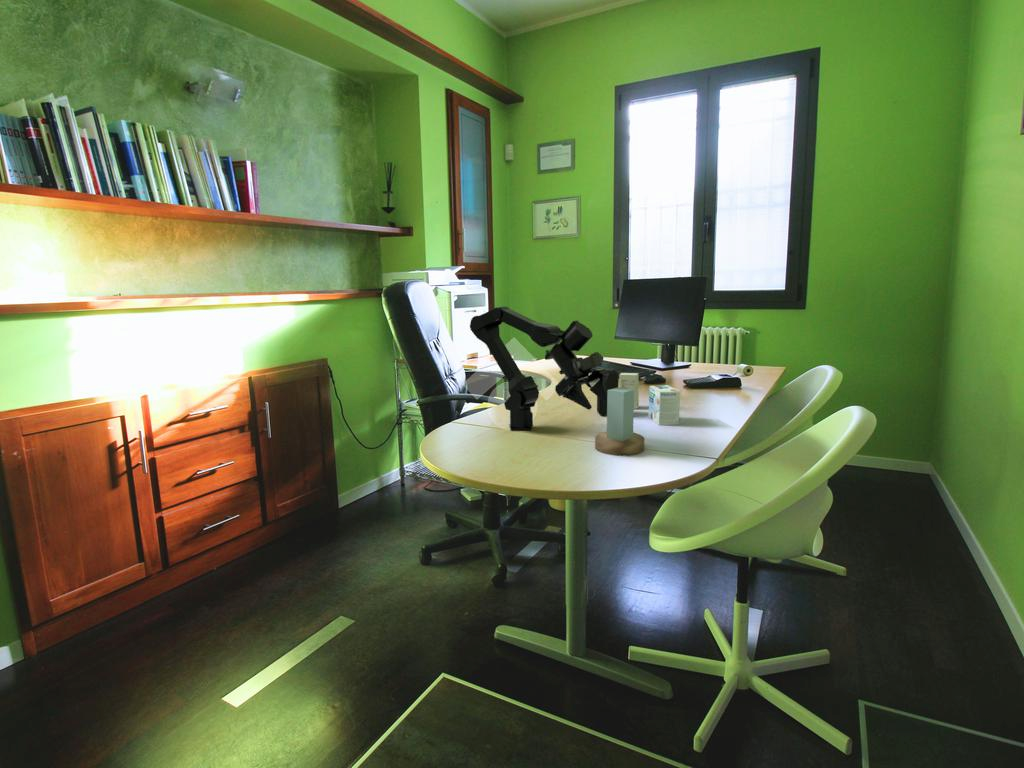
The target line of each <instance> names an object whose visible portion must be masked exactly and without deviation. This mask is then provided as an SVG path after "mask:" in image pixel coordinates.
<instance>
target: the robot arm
mask: <svg viewBox="0 0 1024 768" xmlns="http://www.w3.org/2000/svg"><path fill="white" fill-rule="evenodd" d="M502 324H506V325H508V326H510V327H513V328H514V329H516V330H518V331H520V332H522V333H524V334H525V335H527V336H529V338H530V339H531V341H533V342H534V343H535V344H536V345H537V346H539V347H542V348H545V347H551V346H552V347H551V349H546V350H545V356H544V360H545V361H547V360H553V361H554V362H555V364H556V365H557V366H558V367H559V369H560V370H559V371H558V373H559V375H561V376H562V375H564V377H562V379H560V381H559V382H557V384H556V385H554V386H555V387H554V390H555V393H556V394H557V396H558V397H563V399H567V400H570V401H572V402H574V403H576V404H578V405H579V406H581V407H582V408H585V409H586V410H588V411H589V410H590V411H591V409H592V408H593V407H592V405H591V403H590V401H589V399H588V398H587V396H586V394H585V393H584V391H583V390H582V388H583V387H582V385H586V386H587V387H588V388H589V391H591V393H593V394H594V395H596V397H597V396H598V397H599V398H600V399H601V400H603V401H604V402H605V403H607V394H608V392H607V389H606V385H605V382H606V379H607V376H608V375H609V373H608V372H607V371H608V370H606V369H605V368H598V367H602V366H603V365H604V364H603V362H604V356H603V355H602V354H601V353H600V352H599V351H596V352H593V353H591V354H590V355H589V356H585V357H584V358H583V357H577V355H576V354H575V353H574V352H579V351H581V349H582V348H584V346H585V345H586V344H587V343H588V342H590V340H591V339H592V338H593V336H594V335H593V332H592V331H591V329H590V328H589V327H587V326H586V325H585V324H583V323H581V322H580V321H579V320H573V321H571V323H570V324H569V326H568V327H567V328H566V330H562V329H561V328H560V327H559V326H557V325H555V324H550V323H545V322H539V321H536V320H534V319H532V318H529V317H528V316H525V315H523V314H521V313H519V312H517V311H515V310H513V309H511V308H509V307H508V306H505V305H504V306H496V307H494V308H493V309H491V310H489V311H486V312H484V313H482V314H480V315H474V316H473V317H472V318H471V319H470V323H469V329H470V331H471V332H472V334H473V335H474V337H476V339H478V340H479V341H481V342H482V343H484V344H485V346H487V348H488V350H489V352H490V354H491V355H492V357H493V359H494V361H495V362H496V364H497V366H498V367H499V368H500V371H501V372H502V374H503V376H504V377H505V379H506V380H507V384H508V387H507V390H508V394H509V397H508V398H507V399H506V400H505V401H504V403H503V404H504V408H505V410H506V411H509V424H508V425H509V430H510V431H525V430H526V431H529V430H530V431H531V429H533V428H532V427H533V426H534V417H533V416H534V414H533V412H532V408H534V407H535V406H536V403H537V401H538V400H539V399H538V398H539V397H540V396H539V394H540V390H539V388H538V387H539V385H537V383H536V382H535V380H534V378H533V376H531V375H528V376H526V375H524V374H523V373H522V372H521V370H520V368H519V367H518V364H517V363H516V362H515V360H514V358H513V356H512V355H511V353H510V352H509V350H508V348H507V346H506V345H505V343H504V342H503V340H502V338H501V335H500V331H501V330H500V326H501V325H502ZM594 368H597V369H594Z"/></svg>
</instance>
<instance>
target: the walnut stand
mask: <svg viewBox="0 0 1024 768" xmlns="http://www.w3.org/2000/svg"><path fill="white" fill-rule="evenodd" d="M594 449H595V450H596V451H597V452H600V453H601V454H605V455H610V456H611V455H612V456H620V455H621V456H623V455H626V456H635V455H638V454H642V453H643V452H644V451H645V437H644V435H641V434H639V433H635V432H633V437H632V438H630V439H627V440H624V441H620V440H615V439H610V438H607V431H603V432H599V433H597V434H596V435H595V437H594ZM641 452H642V453H641ZM621 456H620V457H621Z"/></svg>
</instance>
